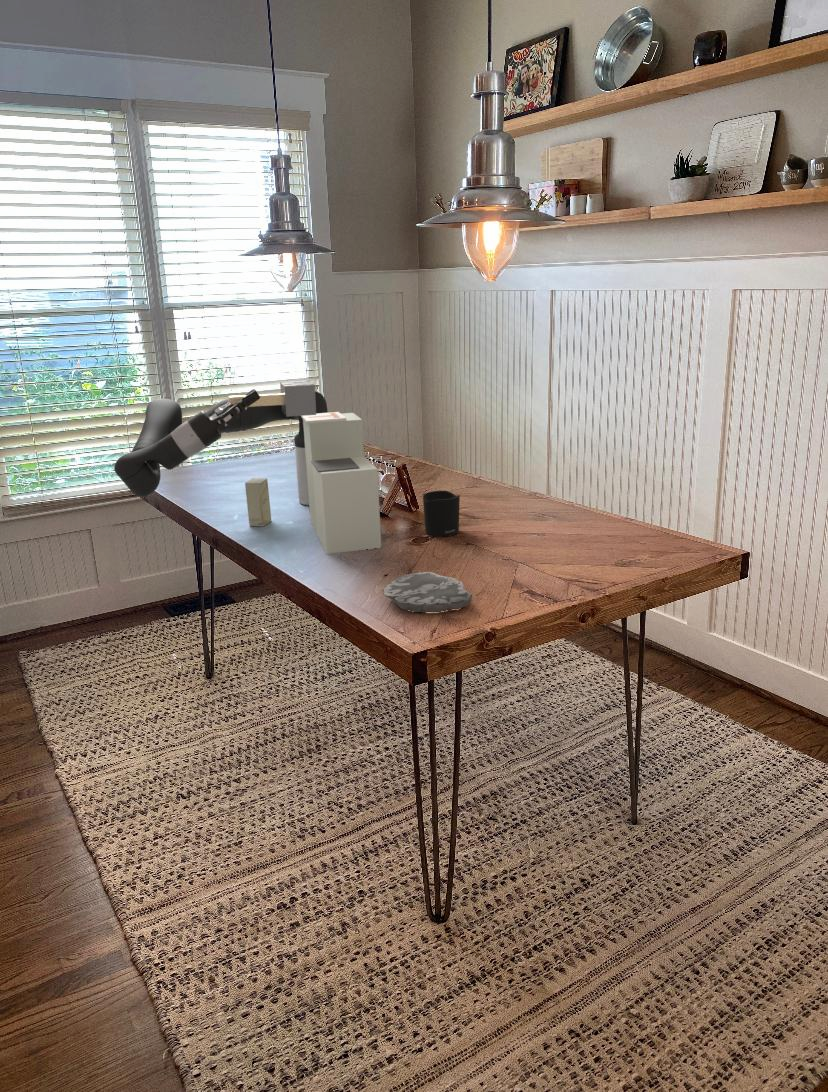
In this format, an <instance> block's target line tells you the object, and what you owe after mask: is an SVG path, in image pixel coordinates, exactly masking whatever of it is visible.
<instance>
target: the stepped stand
mask: <svg viewBox="0 0 828 1092" xmlns="http://www.w3.org/2000/svg"><path fill="white" fill-rule="evenodd" d="M301 417H302V418H303V427H304V440H305V454H306V467H307V481H308V494H309V505H308V506H309V507H308V508H309V518H310V519H309V520H310V525H311V527H312V528H313V531H314V532H316V533H315V534H316V536H317V538H318V540H319V542H320V544H321V546H322V547H323V550H324V551H325V553H326V555H330V554H331V555H332V554H341V553H342V554H343V553H349V552H351V553H352V552H358V551H359V550H360V551H367V550H366V549H368V550H375V549H374V548H377V549H382V536H381V534H382V533H381V516H380V515H381V514H380V497H379V495H380V494H379V476H378V475H379V473H378V470H379V469H378V468H377V466H375V464H373V463H372V462H371V461H370V460H369V459H368V458H367V457H366V456H365V452H364V451H365V449H364V430H363V429H364V428H363V427H364V426H363V419H362V418H361V417H359V416H358V415H357V414H355V413H354V412H345V413H341V412H340V411H334V412H330V411H329V412H328V413H316V415H306V416H301Z"/></svg>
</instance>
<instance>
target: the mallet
mask: <svg viewBox="0 0 828 1092" xmlns="http://www.w3.org/2000/svg"><path fill="white" fill-rule="evenodd" d="M279 384H280V386H279V387H280V393H279V392H277V393H265V394H263V393H262V394H259V393H258V394H259V396H260V399H259V400H257V401H256V402H254V403H253V404H251V405H250V406H248V407H253V406H271V405H282V412H283V413H284V414H285V415H286V417H288V416H306V415H316V400H315V391H316V387H315V386H316V385H315V383H313V382H312V381H311V380H294V381H292V380H291V381H280V383H279ZM245 396H247V395H245V394H241V395H228V399H229V404H230V403H233V404H234V403H236V402H237V401H238V400H239V399H242V398H244V397H245ZM242 400H243V399H242Z"/></svg>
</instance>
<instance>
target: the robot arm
mask: <svg viewBox="0 0 828 1092" xmlns="http://www.w3.org/2000/svg"><path fill="white" fill-rule="evenodd" d="M244 395H247V396H245V397H244V398H242V399H243V400H242V399H239V400H238V401H237V402H236V403H234V404H233V403H230V404H229V398H224V399H222V400H220V401H218V402H217V403H215V404H214V405H213V406H212V407H211V408H209V409H208V410H207V411H204V410H200V411H199V412H198V413H196V414H194V415H193V416H192V417H190V418H189V419H187V420H185V421H184V422H183V412H182V407H181V405H180V403H179V402H178V401H175V400H174V399H170V398H157V399H156V398H155V399H153V400H151V401H150V402H149V403H148V404H147V406H146V410H145V418H144V422H143V425H142V428H141V431H140V434H139V436H138V438H137V439H136V442H135V444H134V446H133V448H132V450H131V451H129V452H128V453H126V454H123V455H121V456H120V457H119V458H118V459H117V460H116V462H115V463H114V467H113V469H114V470H113V471H115V474H116V475H117V476H118V478H119V479H120V480H121V481H122V482H123V483H124V485H125V486H126V487H127V488H128V489H129V491H130V492H131V493H132V494H133V495H135V496H136V497H140V498H144V497H147V496H150V495H152V494H153V493H154V492H155V491H156V490H157V489H158V487H159V485H160V481H161V466H162V467H163V468H164V469H166V470H173V469H174V468H176V467H178V466H180V465H181V464H182V463H184V462H185V461H186V460H188V459H189V458H191V457H192V458H193V456H195V455H198V454H200V452H202V451H203V450H205V449H206V448H208V447H209V446H211V445H213V443H215V442H217V441H218V440H220V439H221V438H222V434H227V433H236V432H242V431H248V430H250V431H251V430H254V429H257V428H259V427H262V426H264V425H266V424H269V423H273V422H276V421H277V422H278V421H284V420H285V421H286V420H289V421H294V420H295V421H298V433H297V434H296V435H294V440H293V441H294V452H295V453H294V455H295V466H296V467H295V468H296V477H297V478H296V479H297V493H298V503H299V504H301V505H304V506H306V505H307V506H309V494H308V481H307V467H306V454H305V440H304V427H303V418H302V417H301V416H288V417H286V415H285V414H284V413H283V412H282V405H271V406H253V407H248V406H250V405H251V404H253V403H254V402H256V401H257V400H259V399H260V396H259V393H258V392H257V390H256V389H255V388H253V389H251V390H249V391H248V392H246V393H245V394H244ZM315 400H316V413H329V412H328V404H327V401H326V398H325V397H324V395H323V394H322V393H320V392H319V391H316V390H315Z"/></svg>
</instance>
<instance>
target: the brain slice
mask: <svg viewBox="0 0 828 1092" xmlns="http://www.w3.org/2000/svg"><path fill="white" fill-rule="evenodd" d="M464 587H465V586H464V584H463V582H462V581H460V580H458V579H457V578H455V577H451V576H447V575H446V576H445V575H441V574H437V573H435V572H432V571H419V572H415V573H414V572H413V573H410V574H404V575H401V576H397V577H396V578H395V579H393V580H391V581H390V582H389V584H386V585H385V588H383V590H382V592H383V596H385V597H386V598H388V599H391V601H393V602H394V603H395V605H397V606H398V607H399V608H400V609H402V610H403V609H404V611H406V610H410V611H414V612H423V613H424V612H441V611H446V610H452V609H459V608H461V609H463V608H462V607H464V608H466V606H468V605H469V604H470V603H471V601H472V599H473V593H471V592H470V591H469V590H467V589H465V588H464ZM414 612H413V613H414Z"/></svg>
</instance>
